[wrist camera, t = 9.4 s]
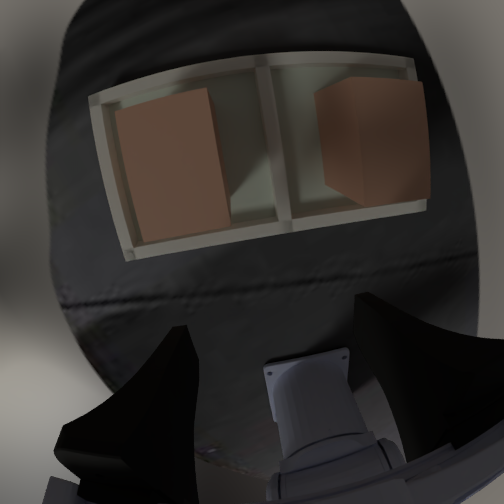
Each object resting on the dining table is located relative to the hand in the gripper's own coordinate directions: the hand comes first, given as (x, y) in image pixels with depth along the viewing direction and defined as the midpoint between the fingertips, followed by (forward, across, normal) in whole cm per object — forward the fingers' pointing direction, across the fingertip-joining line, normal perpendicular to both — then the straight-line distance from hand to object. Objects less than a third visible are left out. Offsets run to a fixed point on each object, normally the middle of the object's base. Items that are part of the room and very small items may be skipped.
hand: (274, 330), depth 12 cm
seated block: (+8, +3, -7) cm, 11 cm away
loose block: (+8, -7, -7) cm, 13 cm away
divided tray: (+9, -2, -7) cm, 12 cm away
